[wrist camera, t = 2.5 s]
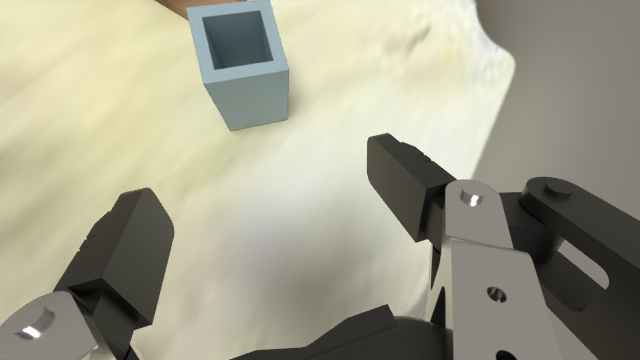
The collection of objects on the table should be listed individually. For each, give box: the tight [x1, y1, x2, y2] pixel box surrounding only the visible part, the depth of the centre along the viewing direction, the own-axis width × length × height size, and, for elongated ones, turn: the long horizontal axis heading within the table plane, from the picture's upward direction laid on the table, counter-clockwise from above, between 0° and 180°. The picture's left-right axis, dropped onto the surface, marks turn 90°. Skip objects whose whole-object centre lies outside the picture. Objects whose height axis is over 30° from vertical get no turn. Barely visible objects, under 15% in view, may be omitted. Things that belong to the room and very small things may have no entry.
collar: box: [186, 0, 289, 131], centre depth 23 cm, size 6×6×9 cm
